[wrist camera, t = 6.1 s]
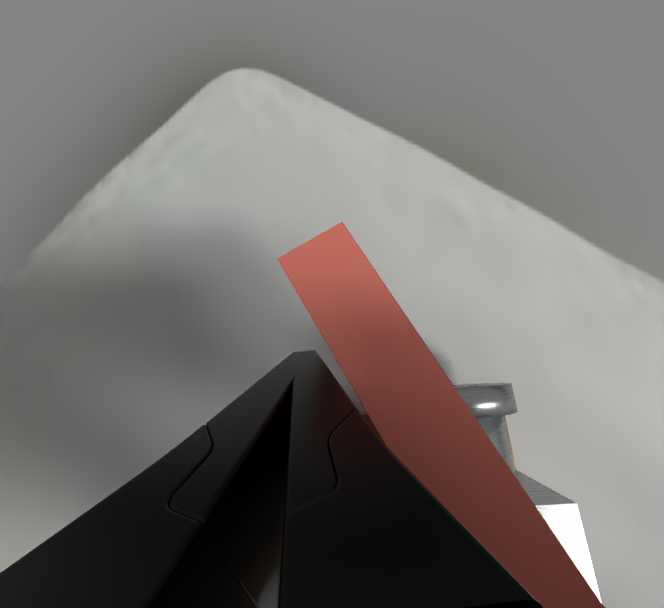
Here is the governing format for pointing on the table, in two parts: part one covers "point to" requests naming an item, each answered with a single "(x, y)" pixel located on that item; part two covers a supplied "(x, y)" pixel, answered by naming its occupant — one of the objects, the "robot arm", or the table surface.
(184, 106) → the table surface
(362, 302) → the lever
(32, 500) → the table surface
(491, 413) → the valve
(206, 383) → the table surface
